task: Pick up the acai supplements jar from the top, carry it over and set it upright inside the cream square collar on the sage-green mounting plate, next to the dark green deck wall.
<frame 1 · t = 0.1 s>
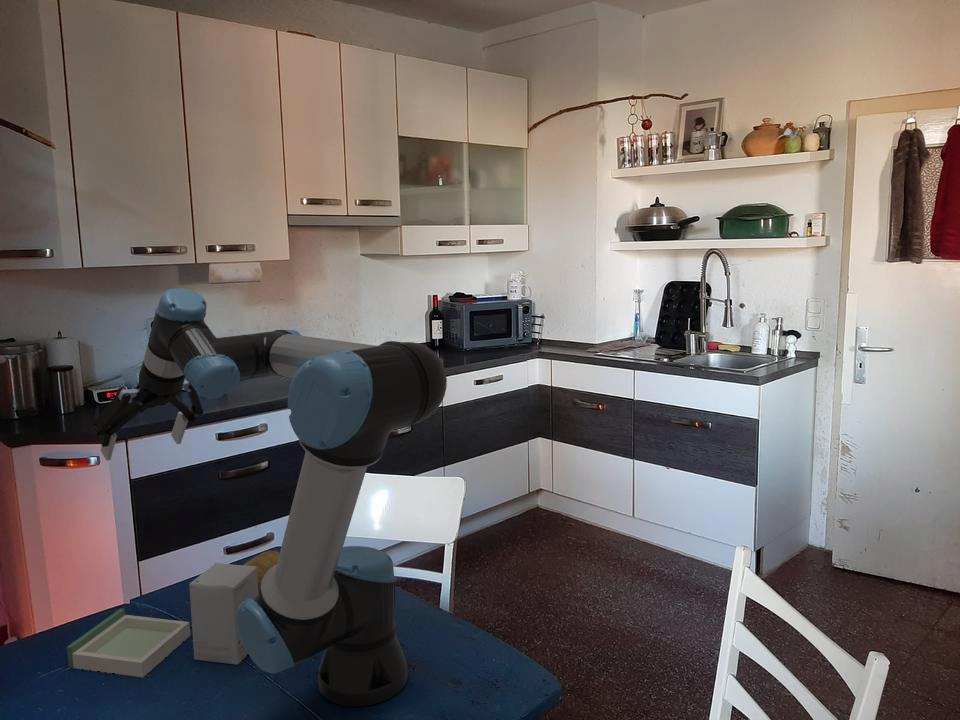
hand: (141, 447, 143), 36 cm above the table, tool tilted 35°, fingers open, 13 cm apart
supplement box: (229, 650, 138), on the table
potato: (263, 592, 160), on the table
chute collar: (134, 651, 137), on the table
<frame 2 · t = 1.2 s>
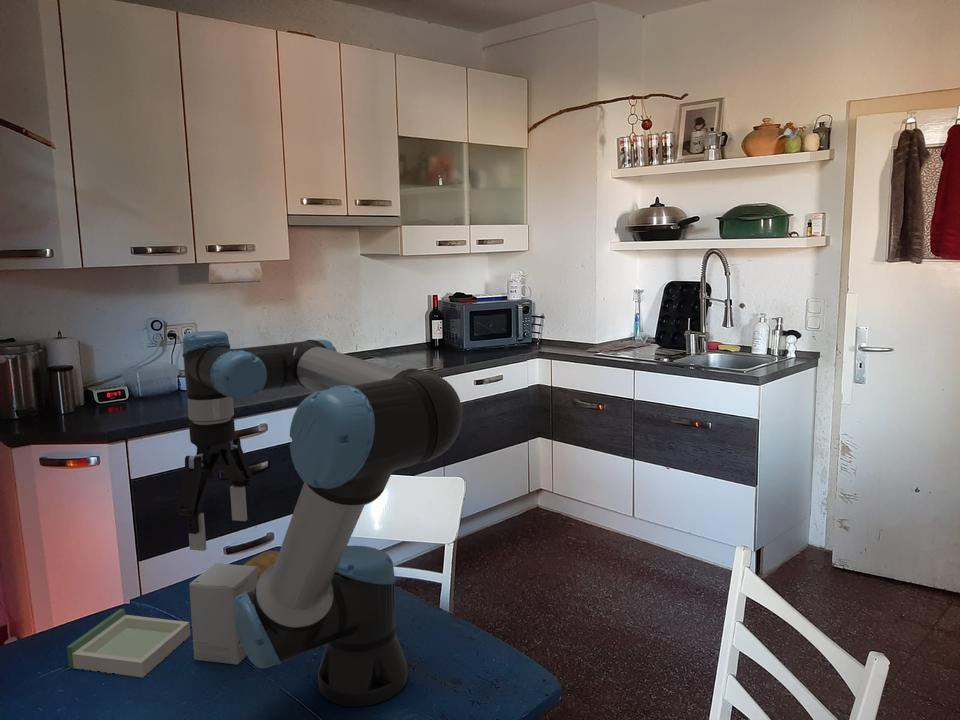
hand: (220, 534, 134), 23 cm above the table, tool pointing down, fingers open, 13 cm apart
nothing on the table moved.
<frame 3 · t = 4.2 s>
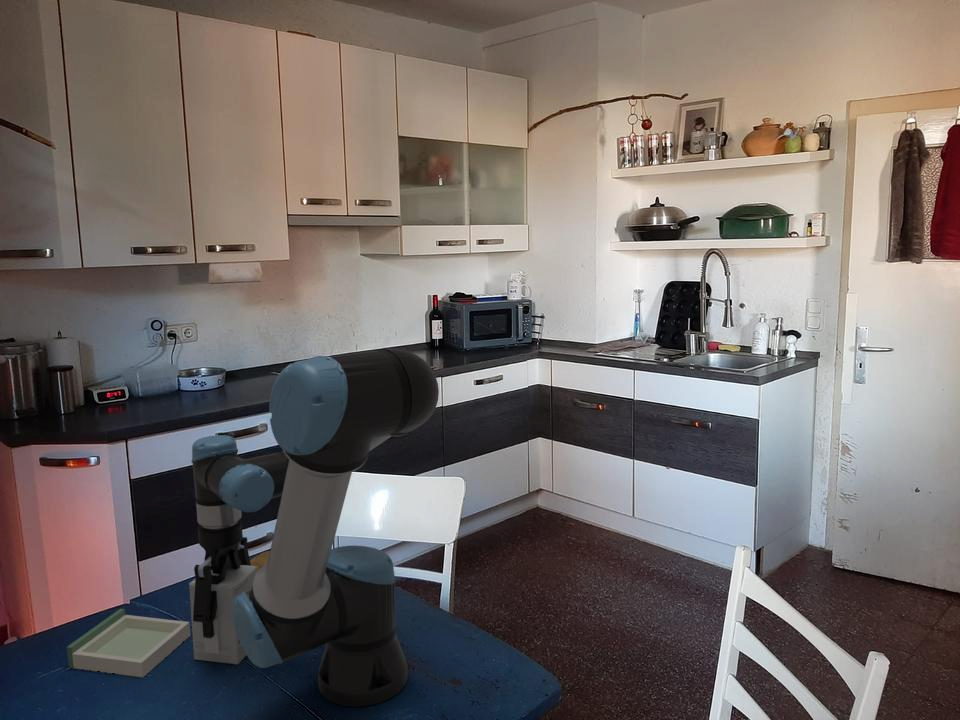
hand: (227, 637, 137), 3 cm above the table, tool pointing down, fingers closed on supplement box, 9 cm apart
supplement box: (228, 650, 138), on the table, touching gripper
everything else where it was.
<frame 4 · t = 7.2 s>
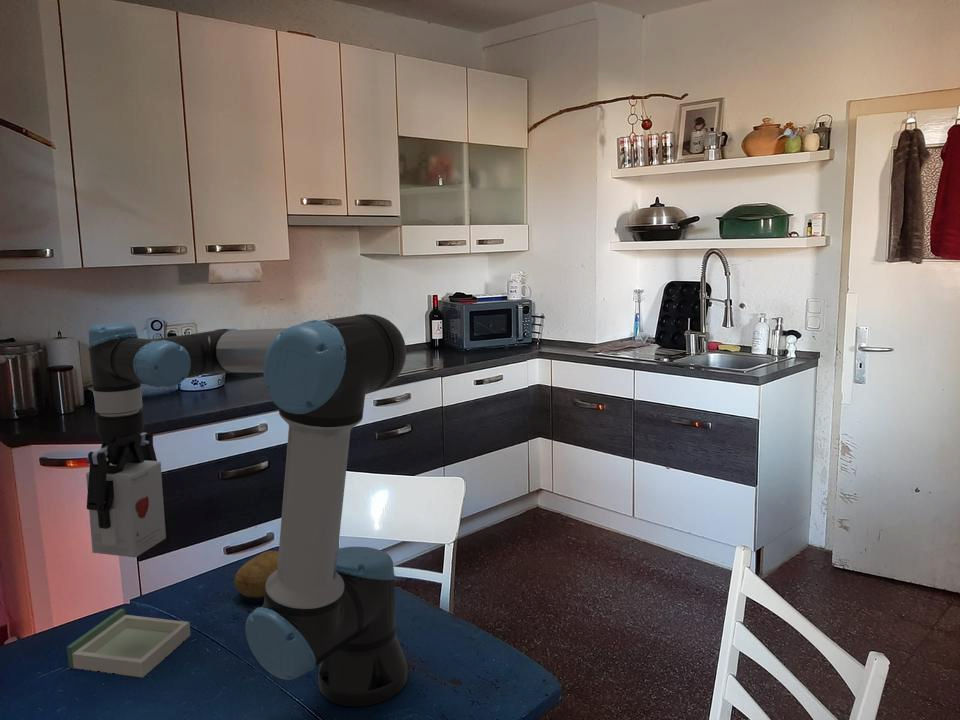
hand: (129, 532, 134), 23 cm above the table, tool pointing down, fingers closed on supplement box, 9 cm apart
supplement box: (130, 546, 134), point 20 cm above the table, touching gripper
everything else where it was.
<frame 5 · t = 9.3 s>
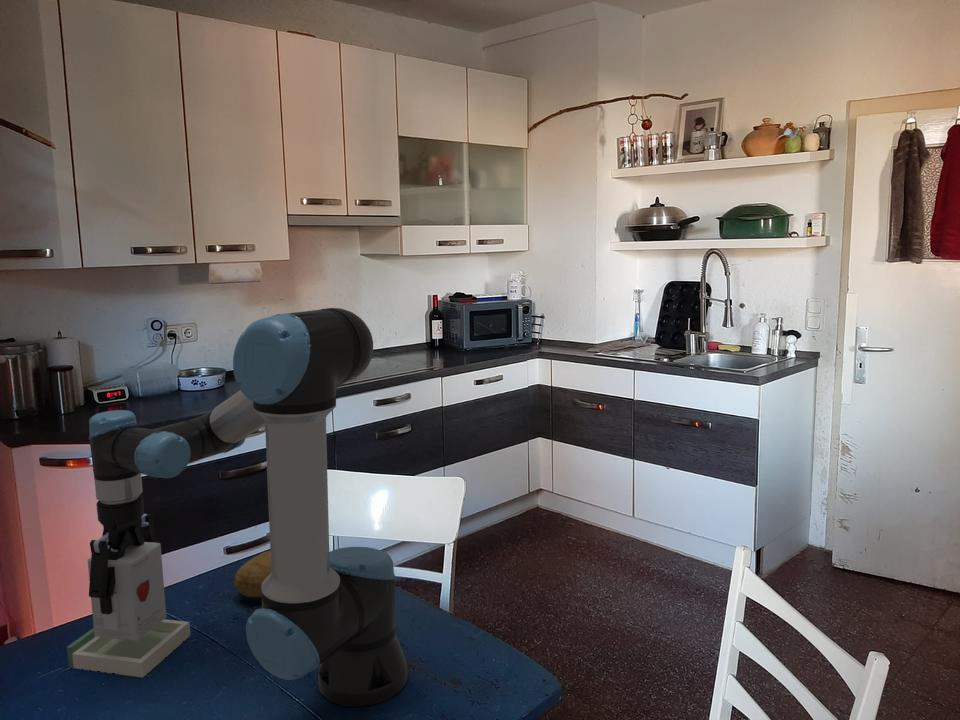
hand: (130, 614, 136), 7 cm above the table, tool pointing down, fingers closed on supplement box, 9 cm apart
supplement box: (131, 628, 137), point 5 cm above the table, touching gripper
everything else where it was.
when the fingers open (5 cm above the table, at t = 10.7 s): supplement box drops 1 cm, resting on chute collar.
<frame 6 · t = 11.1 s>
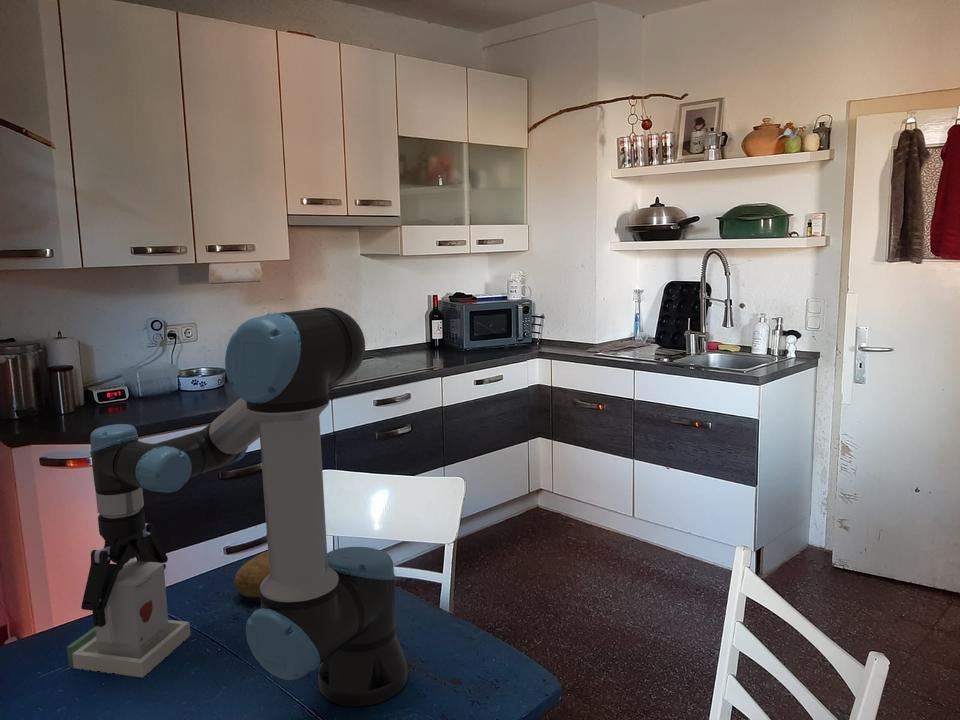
hand: (131, 621, 136), 6 cm above the table, tool pointing down, fingers open, 13 cm apart
supplement box: (135, 647, 138), point 1 cm above the table, touching chute collar
everything else where it was.
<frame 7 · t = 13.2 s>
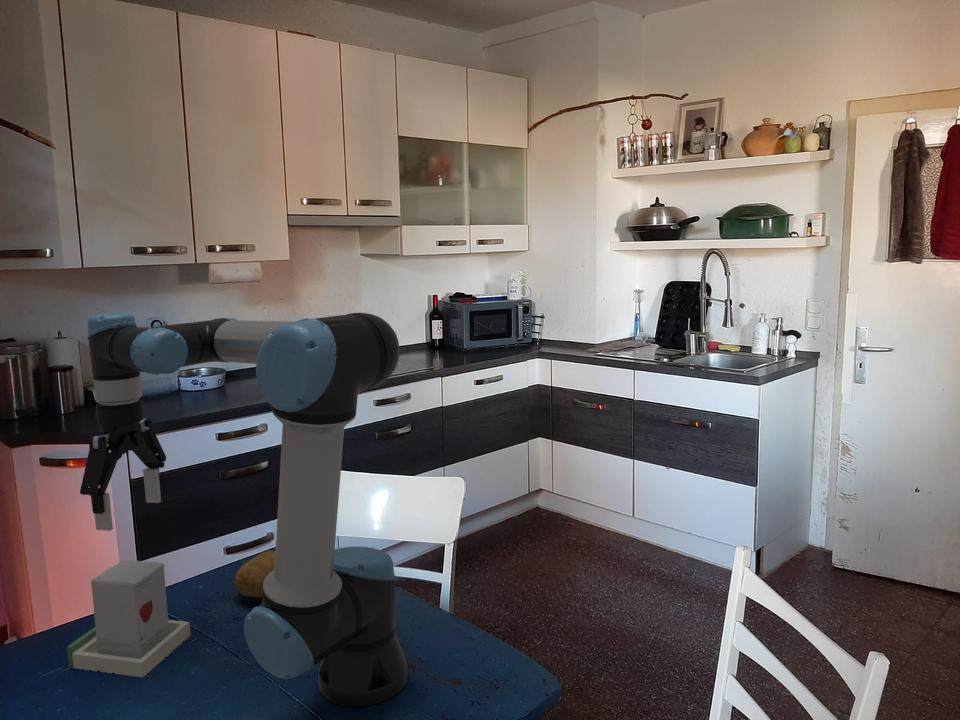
hand: (130, 515, 135), 26 cm above the table, tool pointing down, fingers open, 13 cm apart
nothing on the table moved.
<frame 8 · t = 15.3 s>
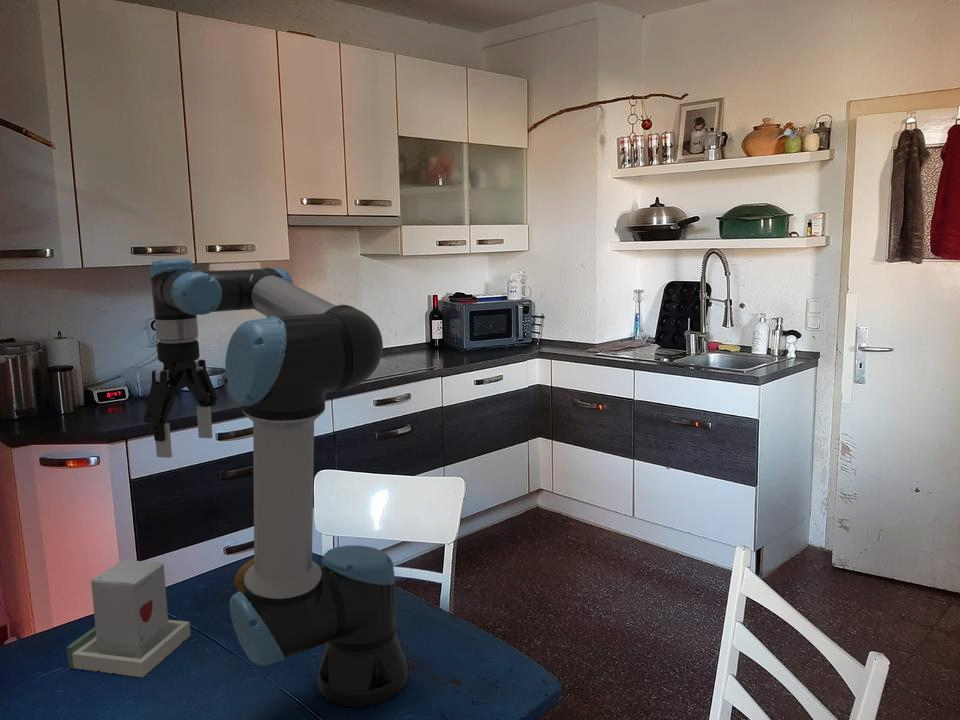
hand: (186, 447, 146), 35 cm above the table, tool pointing down, fingers open, 13 cm apart
nothing on the table moved.
at the end: supplement box 0.3 cm off-centre on the chute collar, point 0.6 cm above the chute collar's base; supplement box tilted 0°; the gripper is holding nothing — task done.
